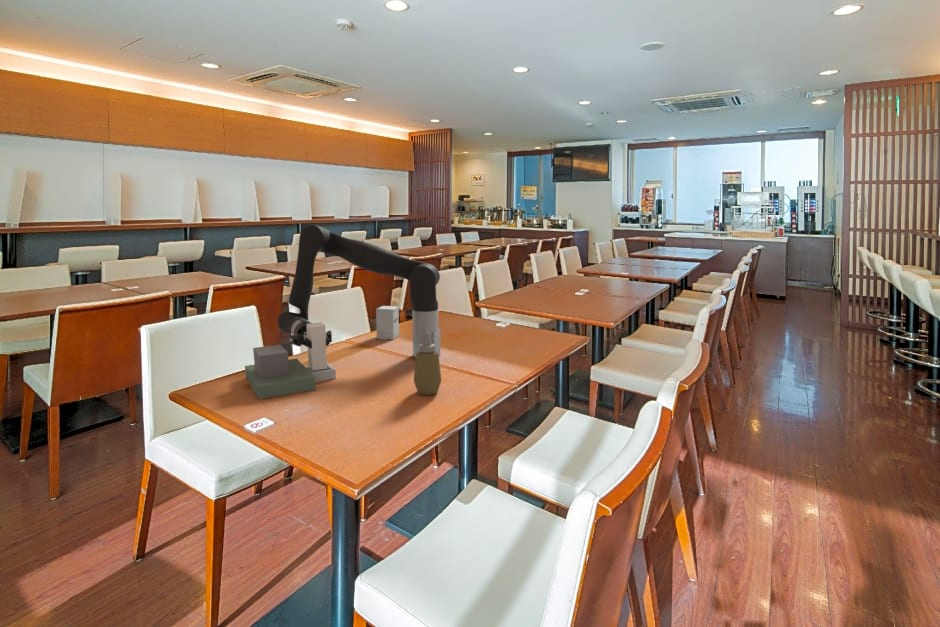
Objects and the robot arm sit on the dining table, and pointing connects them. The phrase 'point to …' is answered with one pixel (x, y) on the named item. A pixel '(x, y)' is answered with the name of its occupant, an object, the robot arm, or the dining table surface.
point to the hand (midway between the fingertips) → (319, 343)
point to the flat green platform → (282, 373)
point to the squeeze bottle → (427, 368)
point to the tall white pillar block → (317, 346)
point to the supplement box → (387, 322)
